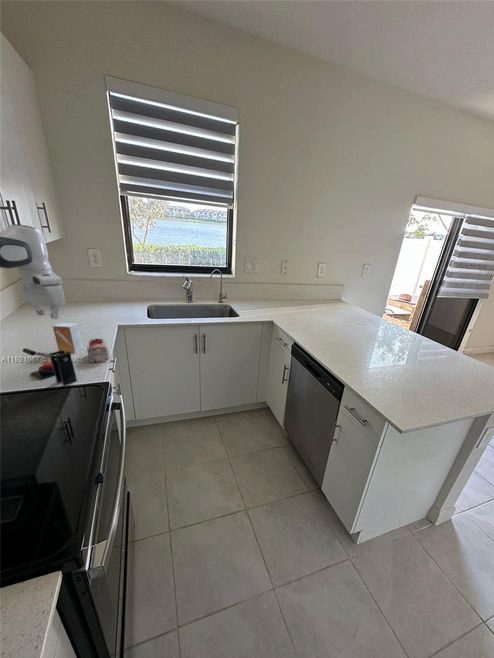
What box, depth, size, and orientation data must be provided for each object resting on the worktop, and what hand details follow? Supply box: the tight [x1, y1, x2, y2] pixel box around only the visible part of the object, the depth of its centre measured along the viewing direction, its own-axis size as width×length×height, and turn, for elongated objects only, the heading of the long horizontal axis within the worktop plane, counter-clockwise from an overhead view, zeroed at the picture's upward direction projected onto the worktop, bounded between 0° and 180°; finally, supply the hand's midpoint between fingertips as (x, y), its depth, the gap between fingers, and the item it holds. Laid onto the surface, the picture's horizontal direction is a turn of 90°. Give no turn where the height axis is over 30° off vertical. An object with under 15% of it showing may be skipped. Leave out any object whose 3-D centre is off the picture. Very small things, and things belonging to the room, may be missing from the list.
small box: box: [52, 322, 84, 354], centre depth 138 cm, size 8×6×13 cm
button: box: [41, 361, 53, 369], centre depth 113 cm, size 4×4×2 cm
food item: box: [86, 338, 110, 364], centre depth 129 cm, size 14×8×10 cm, turn 32°
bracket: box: [49, 350, 78, 386], centre depth 106 cm, size 12×9×13 cm
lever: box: [22, 348, 60, 361], centre depth 100 cm, size 12×5×2 cm
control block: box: [30, 365, 55, 381], centre depth 114 cm, size 10×8×4 cm
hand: (47, 316), depth 104 cm, fingers open, 8 cm apart
